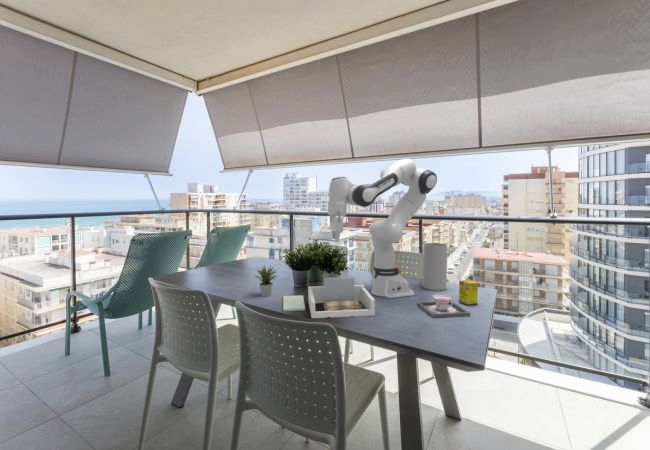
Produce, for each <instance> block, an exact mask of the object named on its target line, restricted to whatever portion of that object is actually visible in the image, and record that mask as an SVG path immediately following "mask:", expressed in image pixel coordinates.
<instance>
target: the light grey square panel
mask: <svg viewBox="0 0 650 450" xmlns="http://www.w3.org/2000/svg"><path fill="white" fill-rule="evenodd" d="M354 285H355V278H354V276H341V277H339V276H338V277H323V286H324V303H323V308H324V310H325V302H329V301H353V300H354Z"/></svg>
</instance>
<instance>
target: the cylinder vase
mask: <svg viewBox="0 0 650 450" xmlns="http://www.w3.org/2000/svg"><path fill="white" fill-rule="evenodd" d="M447 269H448V244H447V243H442V242H441V243H440V242H426V243H423V269H422V271H423V272H422V277H423V278H422V287H423V288H424V289H425V290H428V291H433V290H434V292H435V291H437V292H439V291H440V292H441V291H445V290H446V289H447V280H448V279H447V275H448V274H447V273H448V272H447Z"/></svg>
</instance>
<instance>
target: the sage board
mask: <svg viewBox="0 0 650 450" xmlns="http://www.w3.org/2000/svg"><path fill="white" fill-rule="evenodd" d="M282 301H283V303H282V304H283V305H282V312H292V311H293V312H294V311H295V312H297V311H306V306H305V298H304V295H303V294H302V295H283V299H282Z"/></svg>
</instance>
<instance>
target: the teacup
mask: <svg viewBox="0 0 650 450" xmlns="http://www.w3.org/2000/svg"><path fill="white" fill-rule="evenodd" d="M432 298H433V300H434V301H435V302H436V305H429V306H428V308H427V309H429V310H430V311H431V312H432V313H434V314H437V313H457V309H456V308H454V307H453V306H452V304H453V303H452V302H454V301H453V300H452V297H451V296H449V295H444V294H433V295H432ZM449 302H451V305H448V303H449Z"/></svg>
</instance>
